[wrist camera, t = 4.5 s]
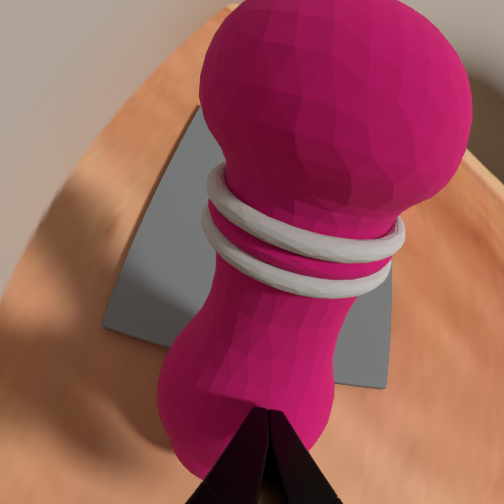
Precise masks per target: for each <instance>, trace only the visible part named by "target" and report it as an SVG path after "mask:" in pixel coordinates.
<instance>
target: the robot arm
mask: <svg viewBox="0 0 504 504" xmlns="http://www.w3.org/2000/svg"><path fill="white" fill-rule="evenodd" d="M185 504H343V503H342V501H341V500H340V498H337V494H336V493H335V491H334V490H333V488H332V487H331V485H330V484H329V482H328V481H327V479H326V478H325V476H324V475H323V473H322V472H321V470H320V469H319V467H318V466H317V464H316V463H315V461H314V460H313V458H312V457H311V455H310V454H309V452H308V450H307V449H306V447H305V446H304V444H303V443H302V441H301V439H300V438H299V436H298V435H297V433H296V432H295V430H294V428H293V427H292V425H291V424H290V422H289V420H288V419H287V417H286V416H285V414H284V412H283V411H281V410H275V409H268V410H267V408H264V407H258V406H253V407H252V409H251V410H250V412H249V413H248V415H247V416H246V418H245V419H244V421H243V423H242V424H241V426H240V427H239V429H238V430H237V432H236V433H235V435H234V436H233V438H232V439H231V441H230V442H229V444H228V445H227V447H226V448H225V450H224V451H223V453H222V454H221V455H220V457H219V458H218V460H217V461H216V463H215V464H214V466H213V467H212V468H211V470H210V471H209V473H208V474H207V475H206V477H205V478H204V480H203V482H201V484H200V485H199V486H198V488H197V489H196V490H195V492H194V493H193V494H192V495H191V497H190V498H189V499H188V500H187V502H186V503H185Z"/></svg>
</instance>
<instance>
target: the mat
mask: <svg viewBox="0 0 504 504" xmlns="http://www.w3.org/2000/svg"><path fill="white" fill-rule="evenodd" d="M224 161H226V159H225V157H224V155H223V152H222V150H221V147H220V146H219V144H218V143H217V141H216V140H215V138H214V137H213V135H212V134H211V132H210V131H209V129H208V127H207V124H206V122H205V119H204V117H203V112H202V108H201V106H200V108H199V109H198V111H197V113H196V115H195V117H194V118H193V120H192V122H191V124H190V126H189V127H188V129H187V131H186V133H185V135H184V137H183V138H182V140H181V142H180V144H179V146H178V148H177V150H176V152H175V154H174V156H173V157H172V159H171V161H170V163H169V165H168V167H167V169H166V171H165V173H164V175H163V177H162V179H161V181H160V184H159V186H158V188H157V190H156V192H155V194H154V196H153V198H152V200H151V202H150V205H149V207H148V209H147V211H146V213H145V216H144V218H143V220H142V222H141V225H140V227H139V229H138V231H137V234H136V236H135V238H134V241H133V243H132V245H131V248H130V250H129V253H128V255H127V257H126V260H125V262H124V265H123V267H122V270H121V272H120V275H119V277H118V280H117V283H116V285H115V288H114V290H113V293H112V296H111V299H110V301H109V304H108V307H107V310H106V312H105V315H104V318H103V321H102V324H101V325H102V326H103V327H104V328H107V329H110V330H113V331H116V332H119V333H122V334H125V335H128V336H131V337H134V338H137V339H140V340H144V341H147V342H150V343H153V344H157V345H160V346H164V347H167V348H171V346H172V344H173V342H174V340H175V339H176V338H177V336H178V335H179V334H180V333H181V331H182V330H183V329H184V328H185V327H186V326H187V324H188V323H189V322H190V321H191V320H192V319H193V318H194V316H195V315H196V314H197V313H198V312H199V311H200V309H201V308H202V306H203V305H204V303H205V301H206V299H207V297H208V295H209V293H210V291H211V286H212V282H213V277H214V273H215V268H216V250H215V249H214V248H213V247H212V246H211V244H210V243H209V242H208V240H207V238H206V236H205V234H204V232H203V228H202V223H201V218H202V211H203V209H204V207H205V205H206V203H207V202H208V199H209V196H208V194H207V184H206V181H207V178H208V175H209V173H210V172H211V171H212V170H213V168H214V167H216V166H217V165H219V164H220V163H222V162H224ZM391 305H392V257H391V268H390V271H389V273H388V276H387V277H386V279H385V281H384V282H382V283H381V284H380V285H379V286H378V287H377V288H375V289H373V290H372V291H369V292H367V293H365V294H363V295H359V296H358V297H357V298H356V300H355V302H354V303H353V305H352V307H351V308H350V310H349V311H348V313H347V315H346V318H345V320H344V323H343V325H342V328H341V330H340V332H339V335H338V337H337V342H336V346H335V351H334V355H333V375H334V383H335V384H342V385H349V386H357V387H365V388H374V389H385V388H386V384H387V374H388V363H389V349H390V332H391Z"/></svg>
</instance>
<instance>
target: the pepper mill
mask: <svg viewBox="0 0 504 504" xmlns="http://www.w3.org/2000/svg"><path fill="white" fill-rule="evenodd" d="M199 98H200V103H201V108H202V112H203V117H204V119H205V122H206V124H207V127H208V129H209V131H210V132H211V134H212V135H213V137H214V138H215V140H216V141H217V143H218V144H219V146H220V147H221V150H222V152H223V155H224V157H225V159H226V161H224V162H222V163H220V164H219V165H217V166H216V167H214V168H213V170H212V171H211V172H210V173H209V175H208V178H207V181H206V184H207V194H208V196H209V199H208V202H207V203H206V205H205V207H204V209H203V211H202V218H201V223H202V228H203V232H204V234H205V236H206V238H207V240H208V242H209V243H210V244H211V246H212V247H213V248H214V249H215V250H216V268H215V273H214V277H213V282H212V286H211V291H210V293H209V295H208V297H207V299H206V301H205V303H204V305H203V306H202V308H201V309H200V311H199V312H198V313H197V314H196V315H195V316H194V318H193V319H192V320H191V321H190V322H189V323H188V324H187V326H186V327H185V328H184V329H183V330H182V331H181V333H180V334H179V335H178V336H177V338H176V339H175V340H174V342H173V344H172V346H171V348H170V350H169V352H168V353H167V355H166V357H165V359H164V362H163V365H162V368H161V372H160V375H159V382H158V391H157V404H158V409H159V414H160V417H161V420H162V423H163V425H164V427H165V429H166V431H167V433H168V435H169V436H170V439H171V443H172V447H173V449H174V452H175V454H176V456H177V457H178V459H179V460H180V462H181V463H182V464H183V465H184V466H185V467H186V468H187V469H188V470H189V471H190V472H191V473H192V474H194V475H195V476H197V477H198V478H200V479H202V480H204V478H205V477H206V475H207V474H208V473H209V471H210V470H211V468H212V467H213V466H214V464H215V463H216V461H217V460H218V458H219V457H220V455H221V454H222V453H223V451H224V450H225V448H226V447H227V445H228V444H229V442H230V441H231V439H232V438H233V436H234V435H235V433H236V432H237V430H238V429H239V427H240V426H241V424H242V423H243V421H244V419H245V418H246V416H247V415H248V413H249V412H250V410H251V409H252V407H253V406H258V407H264V408H267V410H268V409H275V410H281V411H283V412H284V414H285V416H286V417H287V419H288V420H289V422H290V424H291V425H292V427H293V428H294V430H295V432H296V433H297V435H298V436H299V438H300V439H301V441H302V443H303V444H304V446H305V447H306V449H307V450H308V451H309V450H310V449H311V448H312V447H313V445H314V444H315V443H316V441H317V440H318V438H319V437H320V435H321V434H322V432H323V431H324V429H325V427H326V425H327V423H328V420H329V416H330V412H331V408H332V404H333V399H334V375H333V355H334V351H335V346H336V342H337V337H338V335H339V332H340V330H341V328H342V325H343V323H344V320H345V318H346V315H347V313H348V311H349V310H350V308H351V307H352V305H353V303H354V302H355V300H356V298H357V297H358V296H359V295H363V294H365V293H367V292H369V291H372V290H373V289H375V288H377V287H378V286H379V285H380V284H381V283H382V282H384V281H385V279H386V277H387V276H388V273H389V271H390V268H391V257H392V255H393V254H394V253H395V252H397V251H398V250H399V249H400V247H401V246H402V245H403V243H404V240H405V226H404V224H403V221H402V219H401V217H400V214H401V213H402V212H403V211H405V210H407V209H408V208H410V207H412V206H413V205H416V204H418V203H420V202H422V201H425V200H427V199H429V198H431V197H433V196H434V195H435V194H437V193H438V192H439V191H440V190H442V189H443V188H444V187H445V186H446V185H447V184H448V182H449V181H450V180H451V178H452V177H453V176H454V174H455V173H456V171H457V169H458V167H459V164H460V162H461V160H462V158H463V155H464V153H465V151H466V146H467V142H468V137H469V132H470V128H471V123H472V118H473V114H472V99H471V90H470V85H469V81H468V76H467V73H466V70H465V68H464V67H463V64H462V63H461V60H460V58H459V56H458V54H457V53H456V51H455V50H454V49H453V47H452V46H451V45H450V43H449V42H448V41H447V40H446V38H445V37H444V36H443V34H442V33H441V32H440V31H439V30H438V29H437V28H436V27H435V26H434V25H433V24H432V23H431V22H430V21H429V20H428V19H427V18H425V17H424V16H423V15H421V14H420V13H418V12H417V11H415V10H414V9H412V8H411V7H409V6H407V5H405V4H403V3H402V2H400V1H398V0H246V1H244V2H243V3H241V4H240V5H239V6H238V7H237V8H236V9H235V10H234V11H233V12H232V13H230V14H229V15H228V16H227V17H226V18H225V20H224V21H223V23H222V24H221V26H220V27H219V29H218V30H217V32H216V33H215V35H214V37H213V39H212V41H211V43H210V46H209V48H208V50H207V52H206V55H205V59H204V63H203V67H202V71H201V75H200V87H199Z"/></svg>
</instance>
